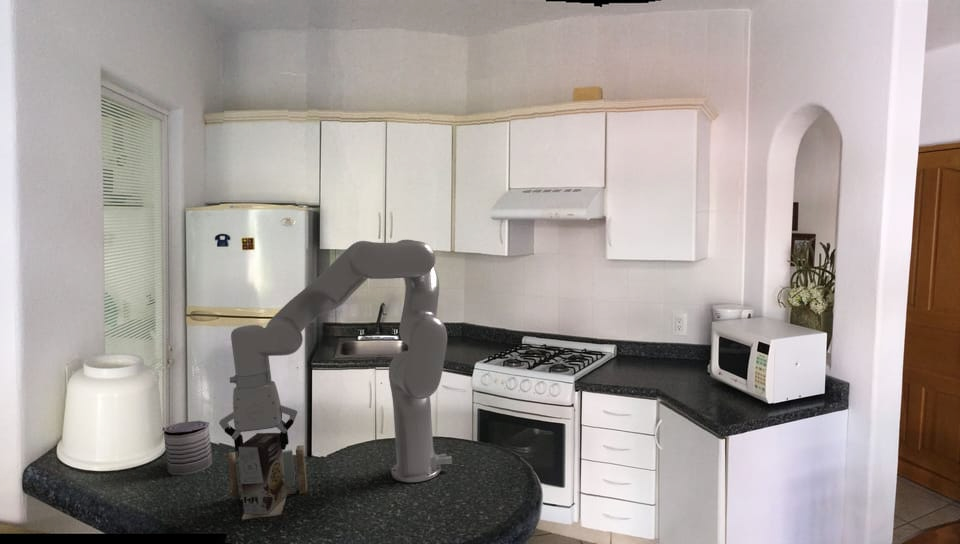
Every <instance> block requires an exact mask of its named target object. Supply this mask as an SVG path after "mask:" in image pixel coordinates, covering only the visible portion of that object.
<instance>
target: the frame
mask: <svg viewBox="0 0 960 544" xmlns="http://www.w3.org/2000/svg"><path fill="white" fill-rule="evenodd" d="M235 452H236V451H235ZM235 452H234V451H232V452H229V453H227V458H228V459H227V460H228V467H229V478H230V488H231V498H232V501H237V500H242V501H243V495H242V494H241V496H240V491H239V489H240V488H239V481H238V480H239V479H238V470H237V462H236V453H235ZM305 453H306V452H305V445H303V444H302V445H297V446H296V448H295V459H296V460H295V461H296V467H297V468H296V469H297V482H298V489H297V487H294V488H286V494H287V495H292V494H294V495H295V494H296V493H297V490H298V492H299V495H301V494H306V493H307V491H308V480H307V479H308V478H307V468H306V457H305V456H306V455H305Z"/></svg>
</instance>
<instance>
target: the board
mask: <svg viewBox="0 0 960 544" xmlns="http://www.w3.org/2000/svg"><path fill="white" fill-rule="evenodd" d="M287 497H288V494H286V498H285V499H284V500H283V501H282V502H280V503H279V504H278V505H277V506H276V507H275V508H274V509H273V510H272V511H271V512H270V513H269V514H268V515H265V514H247V513H244V512H243V515H242V517H241V519H242V521H243V520H250V519H258V518H266V517H275V516H281V515H282V512H283V509H284V507H283V506H285V503H286V499H287Z"/></svg>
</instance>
